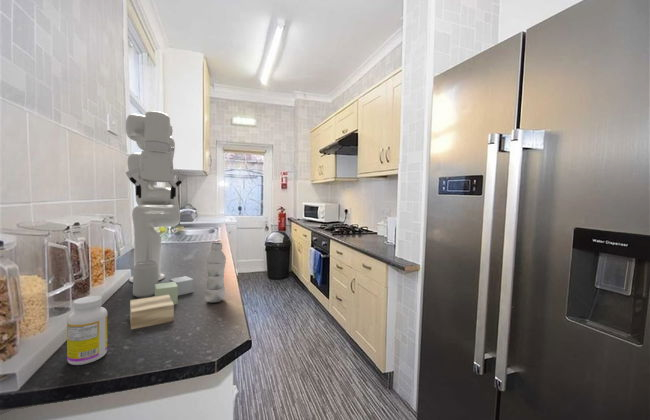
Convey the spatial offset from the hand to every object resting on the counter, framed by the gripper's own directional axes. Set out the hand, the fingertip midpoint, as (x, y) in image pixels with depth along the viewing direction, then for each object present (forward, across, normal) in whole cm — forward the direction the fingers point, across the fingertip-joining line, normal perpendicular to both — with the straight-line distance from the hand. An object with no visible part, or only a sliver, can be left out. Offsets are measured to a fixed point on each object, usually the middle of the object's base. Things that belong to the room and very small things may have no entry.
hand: (156, 198), depth 96 cm
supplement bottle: (+36, +15, +34) cm, 51 cm away
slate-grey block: (+35, -9, -2) cm, 36 cm away
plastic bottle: (+35, -17, +13) cm, 41 cm away
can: (+35, +2, -6) cm, 35 cm away
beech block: (+35, +2, +18) cm, 40 cm away
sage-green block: (+35, -3, +6) cm, 36 cm away
